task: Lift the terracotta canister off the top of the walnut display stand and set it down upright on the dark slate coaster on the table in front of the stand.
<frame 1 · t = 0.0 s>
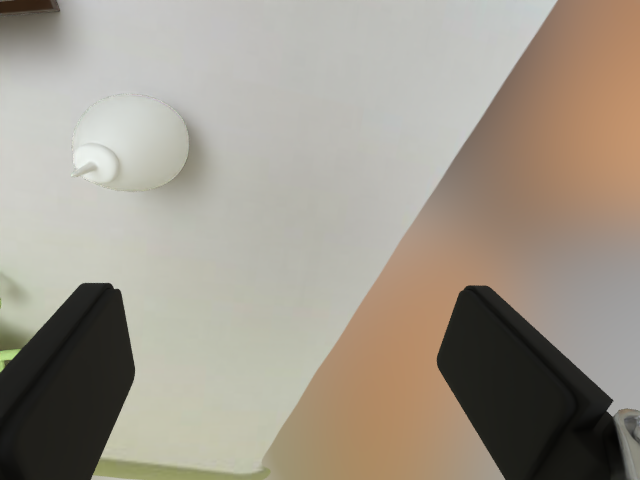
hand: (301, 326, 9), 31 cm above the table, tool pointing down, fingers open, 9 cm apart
sauce bottle: (161, 131, 35), on the table
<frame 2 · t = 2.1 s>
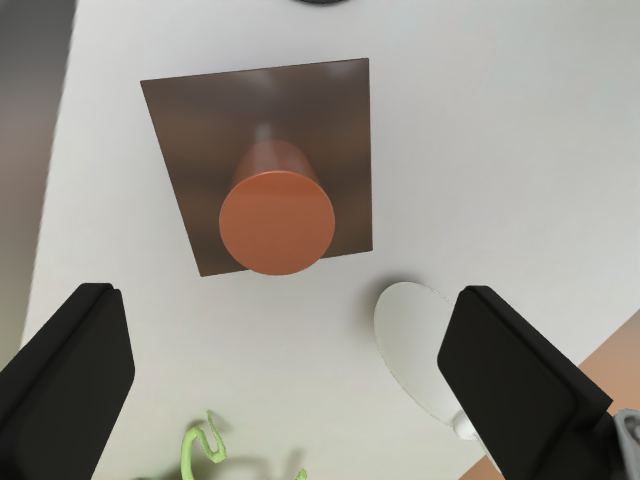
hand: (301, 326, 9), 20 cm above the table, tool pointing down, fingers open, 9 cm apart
stand: (273, 152, 27), on the table
canister: (275, 180, 20), point 8 cm above the table, touching stand
figurine: (204, 471, 45), on the table
sauce bottle: (395, 293, 35), on the table
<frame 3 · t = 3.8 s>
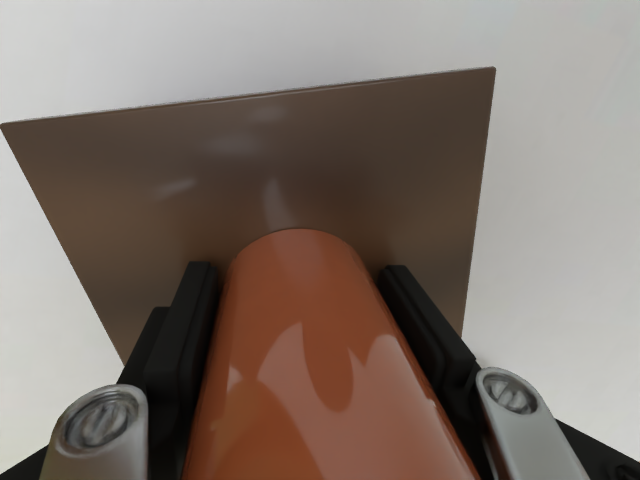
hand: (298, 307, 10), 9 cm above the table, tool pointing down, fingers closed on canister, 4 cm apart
stand: (284, 208, 18), on the table
canister: (297, 295, 10), point 8 cm above the table, touching gripper, stand
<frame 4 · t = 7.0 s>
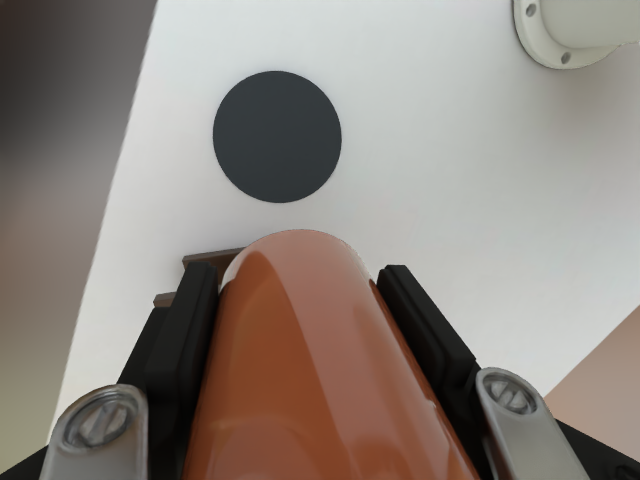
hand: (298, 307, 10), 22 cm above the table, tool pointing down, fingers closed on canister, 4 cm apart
stand: (250, 292, 35), on the table
canister: (297, 296, 10), point 21 cm above the table, touching gripper
coaster: (279, 141, 29), on the table
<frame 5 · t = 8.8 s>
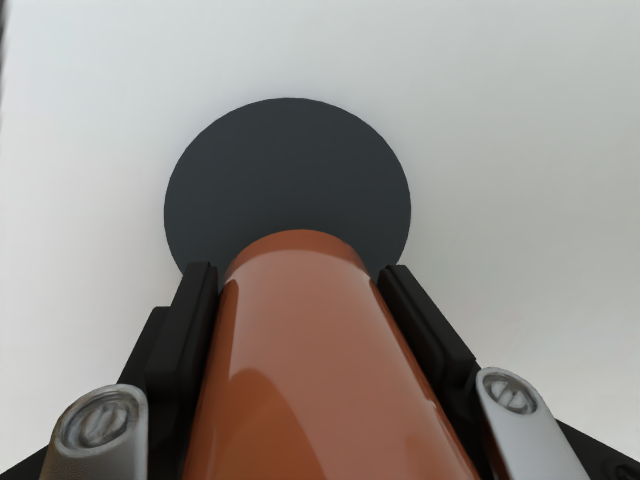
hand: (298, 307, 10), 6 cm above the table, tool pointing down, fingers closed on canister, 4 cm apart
canister: (297, 296, 10), point 5 cm above the table, touching gripper
coaster: (293, 225, 15), on the table
when the fingers open (1 cm above the table, at t = 10.3 s): canister stays where it is, resting on coaster.
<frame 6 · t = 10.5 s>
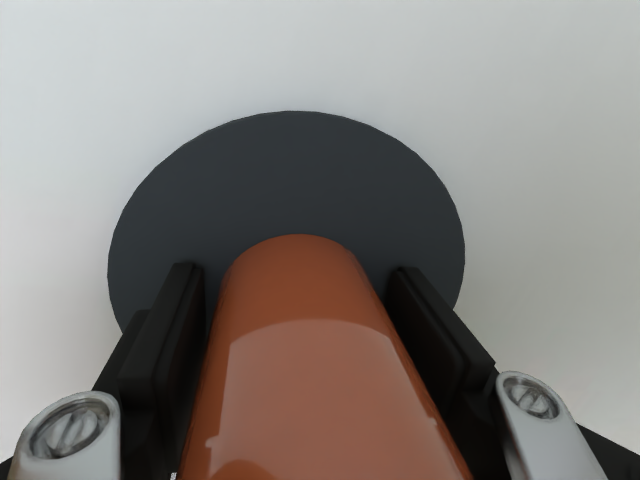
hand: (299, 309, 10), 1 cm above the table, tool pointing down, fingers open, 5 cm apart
canister: (295, 301, 10), point 1 cm above the table, touching coaster
coaster: (298, 288, 11), on the table
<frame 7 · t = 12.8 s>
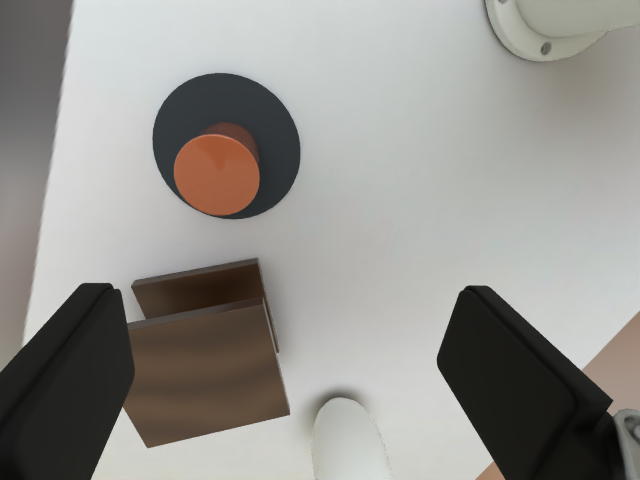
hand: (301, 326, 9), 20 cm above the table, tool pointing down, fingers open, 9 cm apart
stand: (213, 316, 32), on the table
canister: (227, 154, 25), point 1 cm above the table, touching coaster
sauce bottle: (335, 402, 41), on the table
coaster: (230, 151, 26), on the table
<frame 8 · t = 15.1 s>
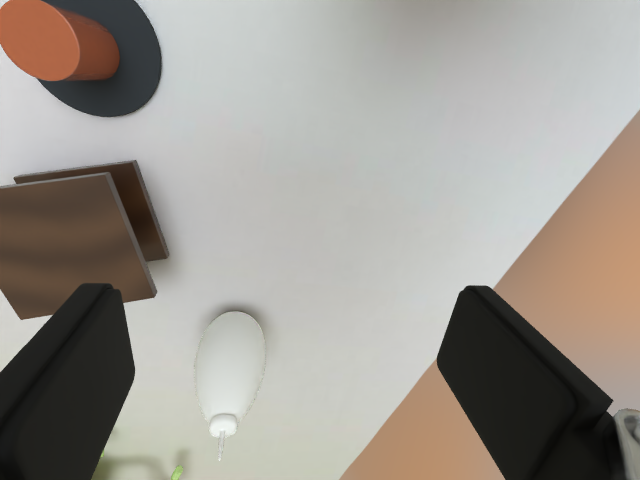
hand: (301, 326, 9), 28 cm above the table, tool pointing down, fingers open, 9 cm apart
stand: (101, 218, 35), on the table
canister: (89, 49, 28), point 1 cm above the table, touching coaster
sauce bottle: (236, 319, 43), on the table
coaster: (93, 49, 28), on the table
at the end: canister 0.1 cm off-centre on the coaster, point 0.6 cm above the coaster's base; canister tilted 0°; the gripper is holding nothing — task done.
